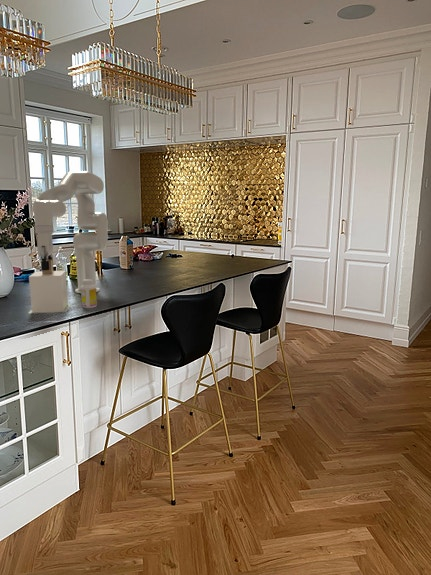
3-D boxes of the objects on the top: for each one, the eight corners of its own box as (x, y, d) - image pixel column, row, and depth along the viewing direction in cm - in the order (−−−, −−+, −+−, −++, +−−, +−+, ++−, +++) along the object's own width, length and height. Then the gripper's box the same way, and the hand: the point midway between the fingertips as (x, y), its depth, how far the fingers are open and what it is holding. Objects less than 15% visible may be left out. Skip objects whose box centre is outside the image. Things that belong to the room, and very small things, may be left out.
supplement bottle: (98, 305, 207) (97, 278, 204) (95, 308, 201) (93, 281, 198) (84, 305, 207) (82, 278, 204) (80, 308, 200) (78, 281, 198)
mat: (36, 305, 206) (36, 304, 206) (71, 304, 209) (71, 303, 209) (27, 314, 191) (27, 313, 191) (66, 312, 194) (66, 311, 193)
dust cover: (38, 305, 205) (34, 258, 201) (68, 304, 207) (64, 257, 203) (32, 312, 192) (27, 262, 188) (63, 311, 195) (59, 261, 190)
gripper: (40, 228, 201) (42, 265, 204) (30, 231, 184) (34, 272, 187) (57, 228, 202) (59, 265, 205) (49, 230, 185) (52, 271, 188)
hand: (47, 268), depth 196 cm, fingers open, 8 cm apart
